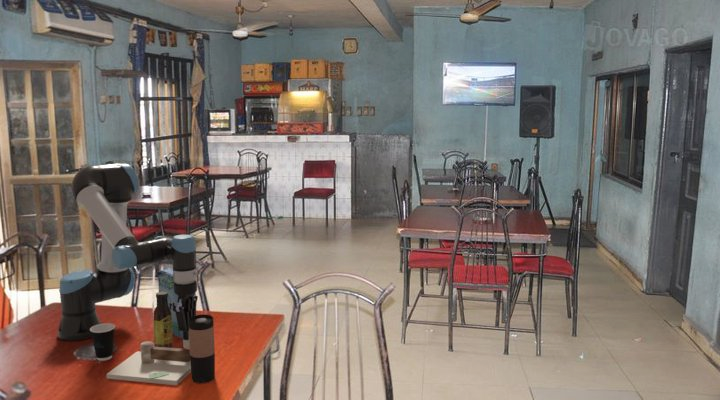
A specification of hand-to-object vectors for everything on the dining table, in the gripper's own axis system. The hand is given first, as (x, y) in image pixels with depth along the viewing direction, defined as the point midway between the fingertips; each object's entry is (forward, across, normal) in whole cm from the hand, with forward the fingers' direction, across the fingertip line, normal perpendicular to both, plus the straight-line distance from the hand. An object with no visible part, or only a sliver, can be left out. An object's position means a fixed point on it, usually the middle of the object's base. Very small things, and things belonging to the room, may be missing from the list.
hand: (188, 347), depth 202 cm
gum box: (+4, +21, +14) cm, 26 cm away
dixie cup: (+4, -5, +28) cm, 29 cm away
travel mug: (+4, -13, -12) cm, 18 cm away
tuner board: (+4, -10, +6) cm, 13 cm away
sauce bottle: (+4, +8, +14) cm, 16 cm away
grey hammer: (+2, -8, +4) cm, 9 cm away
